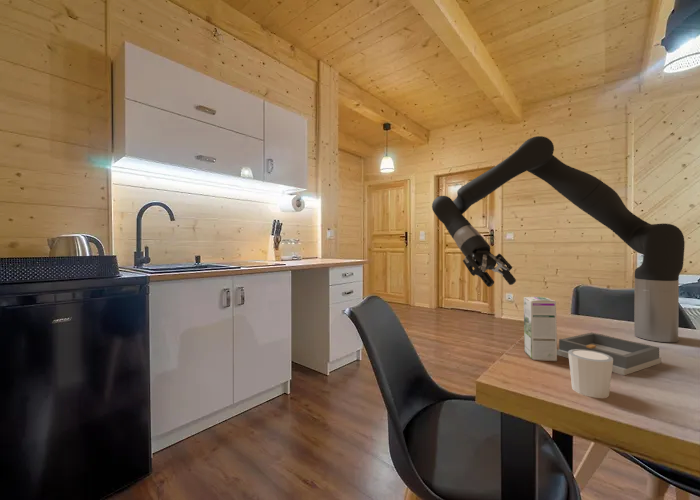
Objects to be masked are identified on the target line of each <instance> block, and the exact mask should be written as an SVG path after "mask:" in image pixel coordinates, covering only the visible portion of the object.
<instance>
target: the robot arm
mask: <svg viewBox="0 0 700 500" xmlns="http://www.w3.org/2000/svg"><path fill="white" fill-rule="evenodd" d="M554 148H555V145H554V143H553V141H552V139H550V138H548V137H547V136H542V135H541V136H540V135H538V136H532V137H530V138H528V139H526V140H525V141H524V142H523V143H522V144H521V145H520V146H519V147H518V149H516V150H515V151H514V152H513V153H511V155H509V156H508V157H506V158H505V159H503V160H502V161H501V162H499V163H497V164H496V165H495V166H492V167H491V168H490V169H489V170H487V171H485V172H483V173H482V174H480V175H478V176H477V177H475V178H473V179H472V180H471V181H469V182H467V183H466V184H464V185H462V186H461V187H459V188H458V190H457V192H456V193H457V195H456V196H457V197H455V198H454V200H453V199H452V198H450V197H449V196H447V195H439V196H437V197H436V198H434V199H433V201H432V204H431V208H432V212H433V213H434V215H435V216H436V217H437V219H438V220H439V222H441V223H442V224H443V225H444V227H445V229H446V231H447V232H448V235H450V236H451V238H452V239H453V241H454V242H455V244H456V246H457V248H458V249H459V250H460V252H461V253H462V254H463V256H464V259H463V260H462V262H463V264H464V265H465V267H466V268H467V270H468V271H469V272H470V273H469V274H471V276H473V277H475V276H477V277H478V278H480V279H481V280H482V282H483V283H484V284H485V285H486V287H488V288H491V287H492V286H493V285H494V284H495V281H494V279H493V278H492V277H491V274H489V273H488V271H490V270H491V271H493V272H494V273H498V274H500V275H501V276H502V278H503V279H504V280H505V281H506V282H507V284H508V285H509V286H511V285H514V284H515V283H516V282H517V279H516V278H515V277H514V275H513V274H512V273H511V272H510V271H511V270H512V269H513V266H512V265H511V264H510V263H509V262H508V260H507V259H506V258H505V257H504V255H502V254H501V253H498V254H497V255H494V254H493V253H492V252H491V245H490V244H489V243H488V242H487V241H486V239H485V238H484V237H483V236H482V235H481V234H480V232H479V231H478V230H477V229H476V228H475V227H474V226H473V225H472V224H471V222H470V221H469V220H468V219H467V218H466V217H465V216H464V215H463V214H464V213H465V212H466V211H467V210H469V208H470V207H471V206H473V205H475V204H476V203H478V202H480V201H481V200H483V199H484V198H486V197H488V196H489V195H490V194H492V193H493V192H495V191H496V190H497V189H499V188H500V187H502V186H503V185H504V184H506V183H507V182H509V181H510V180H512V179H514V178H515V177H518V176H519V175H522V174H523V173H525V172H528V173H530V174H531V175H534V176H535V177H537V178H539V179H540V180H541V181H544V182H545V183H547V184H548V185H549V186H551V187H552V188H553V189H554V190H556V191H557V192H558V193H559V194H560V195H561V196H563V197H565V198H566V199H567V200H568V201H569V202H571V204H573V205H574V206H576V207H577V208H578V209H579V210H582V211H583V212H584V213H585V214H587V215H589V216H590V217H592V218H593V219H595V221H597V222H599V223H600V224H602V225H603V226H605V227H606V228H607V229H609V230H610V231H612V232H613V233H614V234H615V235H616V236H617V237H619V239H620V240H622V241H623V242H624V243H625V244H626V245H627V246H629V248H631V249H632V250H633V251H635V252H636V253H638V254H641V255H643V258H642V263H641V265H640V266H638V267H636V268H635V269H634V303H633V305H634V312H633V313H634V314H633V315H634V317H633V318H634V320H633V322H634V327H633V328H634V333H633V334H634V337H637V338H640V339H644V340H648V341H652V342H653V341H654V342H658V343H659V342H660V343H661V342H662V343H677V342H679V312H680V311H679V308H680V307H679V306H680V305H679V304H680V303H679V300H680V299H679V295H680V293H679V291H680V290H679V285H680V284H679V282H680V281H679V280H680V274H681V273H682V271H683V267H684V260H685V258H684V257H685V247H686V246H685V245H686V243H685V236H684V234H683V232H682V230H681V229H680V228H679V227H678V226H676V225H674V224H672V223H650V222H647V221H645V220H644V219H642V218H640V217H639V216H637V215H636V214H635V213H633V212H632V211H630V210H629V209H628V207H627V206H626V205H625V203H624V202H623V200H622V198H621V197H620V195H619V194H618V193H617V191H615V189H613V188H612V187H611V186H609V185H608V184H606V183H605V182H604V181H602V180H601V179H599V178H597V177H596V176H594V175H592V174H590V173H588V172H585V171H583V170H580V169H577V168H575V167H572V166H570V165H568V164H566V163H565V162H563V161H562V160H560V159H558V158H557V157H556V156H555V155H554V151H555V149H554Z"/></svg>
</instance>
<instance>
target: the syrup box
mask: <svg viewBox="0 0 700 500" xmlns="http://www.w3.org/2000/svg"><path fill="white" fill-rule="evenodd" d="M557 323H558V322H557V301H556V300H553V299H551V298H549V297H546V296H524V297H523V333H524V334H523V341H524V342H523V343H524V345H523V347H524V348H523V349H524V353H525V354H526V355H527V356H528V357H529V358H530V359H531V360H533V361H547V362H557V361H558V355H557V350H558V333H557V331H558V329H557V328H558V327H557V326H558V325H557Z"/></svg>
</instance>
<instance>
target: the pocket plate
mask: <svg viewBox="0 0 700 500" xmlns="http://www.w3.org/2000/svg"><path fill="white" fill-rule="evenodd" d="M558 342H559V343H558V345H559V346H558V347H559V348H557V356H560V357H563V358H567V359H569V355H568V351H569V350H573V349H583V350H591V351H596V352H600V353H604V354H607V355H609V356H611V357H612V358H613V367H612V373H615V374H618V375H621V376H626V375H630V374H632V373H635V372H638V371H641V370H644V369H647V368H650V367H652V366H657V365H659V364H662V357H660V347H658V346H653V345H649V344H645V343H640V342H636V341H631V340H627V339H623V338H618V337H614V336H609V335H604V334H600V333H596V332H587V333H584V334H579V335H573V336H569V337H565V338H560V339H558Z"/></svg>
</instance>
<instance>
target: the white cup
mask: <svg viewBox="0 0 700 500" xmlns="http://www.w3.org/2000/svg"><path fill="white" fill-rule="evenodd" d="M568 355H569V358H568V362H569V363H568V364H569V373H570V380H571V381H570V382H571V389H572V390H573V391H574V392H576V393H578V394H579V395H582V396H585V397H588V398H593V399H606V398H608V397H609V396H610V392H611V391H610V390H611V389H610V388H611V382H612V373H613V372H612V367H613V358H612V357H611V356H609V355H607V354H604V353H600V352H596V351H591V350H583V349H573V350H569V351H568Z"/></svg>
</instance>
